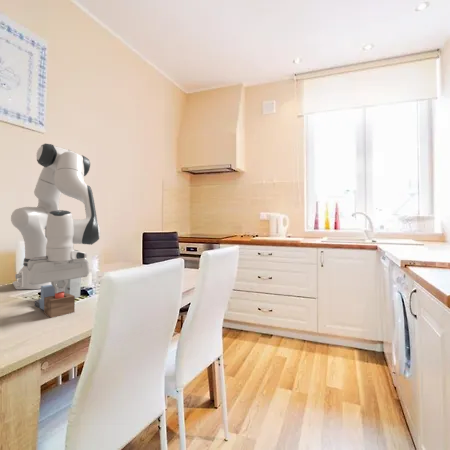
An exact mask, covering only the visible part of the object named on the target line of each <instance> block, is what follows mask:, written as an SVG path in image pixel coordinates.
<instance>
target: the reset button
mask: <svg viewBox="0 0 450 450" xmlns="http://www.w3.org/2000/svg"><path fill="white" fill-rule="evenodd" d="M63 297H64V292H62V293H57V294H56V293H55V298H56V299H58V298H63Z"/></svg>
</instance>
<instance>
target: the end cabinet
mask: <svg viewBox="0 0 450 450" xmlns="http://www.w3.org/2000/svg"><path fill="white" fill-rule="evenodd" d="M75 300H76V298H75V296H73V295H70V294H68V293H66V294H64V297H63V298H58V299H56V298H55V296H50V297H44V310H43V313H44V315H45V316H47V317H49V318H51V319H53V318H56V317H60V316H63V315H69V314H72V313H75V310H76V309H75V306H76V305H75V302H76V301H75Z"/></svg>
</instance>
